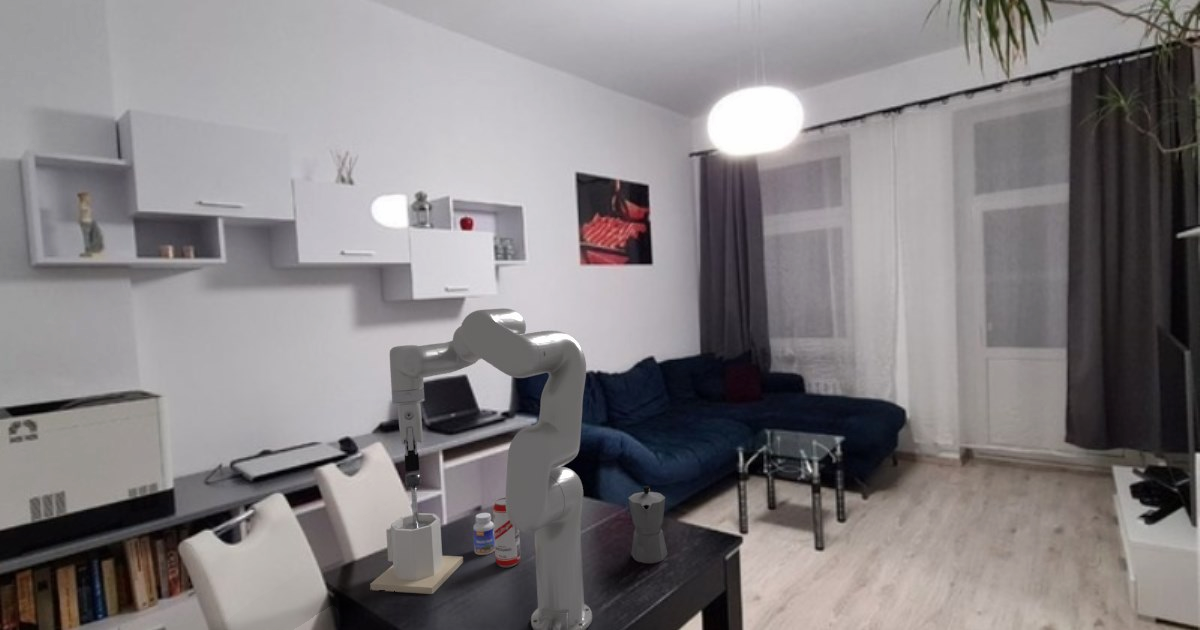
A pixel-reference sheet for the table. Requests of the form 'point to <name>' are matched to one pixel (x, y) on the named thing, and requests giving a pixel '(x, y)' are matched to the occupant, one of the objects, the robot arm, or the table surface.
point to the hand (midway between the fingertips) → (412, 470)
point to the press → (416, 557)
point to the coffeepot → (648, 526)
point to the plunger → (414, 500)
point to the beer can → (505, 537)
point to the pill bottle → (484, 534)
